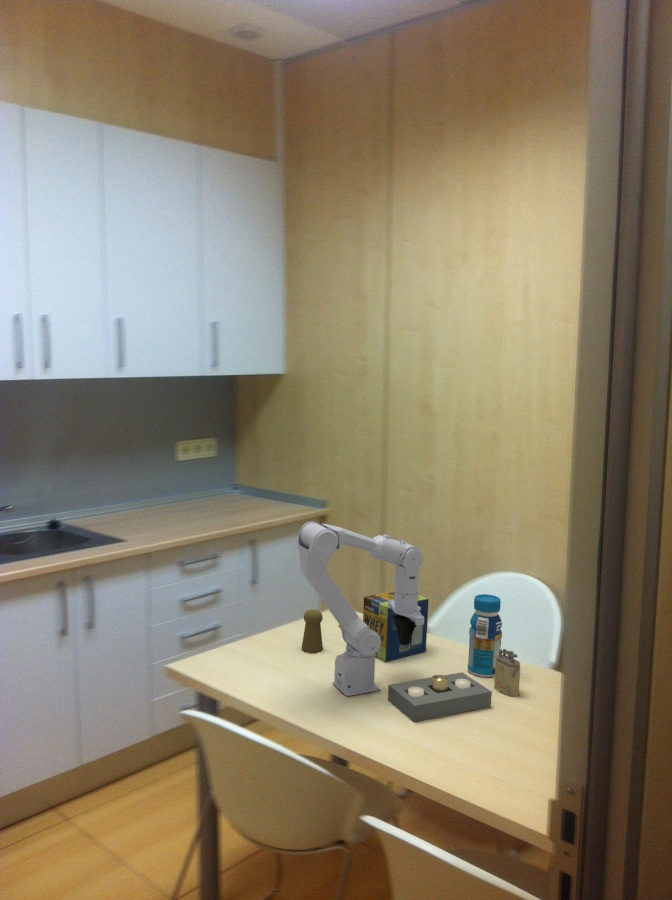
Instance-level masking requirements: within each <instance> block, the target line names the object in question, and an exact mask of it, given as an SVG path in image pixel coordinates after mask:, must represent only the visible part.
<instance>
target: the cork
mask: <svg viewBox="0 0 672 900" xmlns="http://www.w3.org/2000/svg"><path fill="white" fill-rule="evenodd" d="M303 620H304V623H305V625H304V630H303V637H302V642H301V643H302V644H301V649H302V650H301V651H302V652H303V651H304V653H306V652H308V653H307V654H319V653H318V652H320V653H322V652H323V651H324V646H323V638H322V637H323V636H322V635H323V634H322V627H321V622H322V621H323V614H322V612H321V611H320V610H317V609H309V610H308V609H307V610H306V611H305V612H304V614H303ZM322 650H323V651H322ZM321 651H322V652H321Z"/></svg>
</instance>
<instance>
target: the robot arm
mask: <svg viewBox="0 0 672 900" xmlns="http://www.w3.org/2000/svg"><path fill="white" fill-rule="evenodd" d="M295 542H296V544H297V548H298V552H299V553H298V554H299V560H300V561H299V562H300V571H301V573H302V575H303V576H304V578H305V579H306V580H307V581H308V583H309V584H310V585H311V587H312V588H313V590H314V591H315V593H316V594H317V596H318V597H319V598H320V600H321V602H322V603H324V605H325V607H326V608H327V609H328V610H329V612H330V613H331V614H332V616H333V618H334V619H335V620H336V622H337V624H338V627H339V629H340V631H341V636H342V639H343V641H344V642H345V651H344V652H343V653H340V654H338V655H336V656H335V660H334V681H333V682H332V685H334V686H335V687H336V688H337V689H338V690H339V691H340V692H341V693H342V694H343V695H345V696H347V697H348V696H349V697H350V696H355V695H362V694H369V693H373V692H379V691H381V689H382V688H381V687H380V686H379V685H377V684H376V683H375V673H376V672H375V670H376V667H375V666H376V657H375V656H376V653H377V652H378V650H379V648H380V646H381V638H380V636H379V635H378V634H377V633H376V632H374V631H372V630H371V629H370V628H369V627H368V626H367V625H366V624H365V623H364V622H363V618H361V617H360V616H359V615H358V614H357V613H358V612H356V611H355V609H354V607H353V606H352V605H351V604H350V602H349V600H348V599H347V598H346V597H345V595H344V594H343V592H342V591H341V589H340V588H339V586H338V585H337V584H336V582H335V581H334V579H333V578H332V576H331V575H330V574H329V573H328V571H327V570H326V567H327V565H328V563H329V561H330V560H331V558H332V557H333V554H334V553H335V552H336V550H341V549H342V548H344V546H347V547H352V548H356V549H359V550H363V551H368V552H369V554H370V557H372V558H373V559H374V560H375V559H376V560H380V561H383V562H385V563H389V564H392V565H395V566H394V567H395V572H394V574H395V575H394V576H395V577H394V591H395V600H390V601H388V608H390V609H393V611H394V612H395V613H396V614H397V615H393V616H392V619H393V621H394V623H395V625H396V628H397V632H398V636H399V641H400V644H402V645H408V644H410V641H411V637H412V634H413V631H414V629H415V627H416V625H417V626H418V625H424V617H423V616H422V615H421V613H420V610H421V607H419V606H417V600H418V595H419V594H418V591H419V574H420V568H421V566H422V564H423V562H424V560H425V557H424V556H423V555H422V551H421V550H420V549H419V548H418V547H417V546H414V545H412V544H409V543H408V542H406V541H404V540H402V539H400V540H395V539H393V538H391V536H390V535H388V534H385V533H383V534H382V535H379V534H378V535H376V536H374V537H368V536H367V535H364V534H361V533H357V532H354V531H351V530H349V529H346V528H343V527H340V526H336V525H332V524H327V523H321V524H320V523H318V522H316V521H307V522H305V523H304V524H303V525H302V526H301V527H300V529H299V531H298V535H297V538H296V541H295Z"/></svg>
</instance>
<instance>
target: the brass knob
mask: <svg viewBox="0 0 672 900" xmlns="http://www.w3.org/2000/svg"><path fill="white" fill-rule="evenodd" d="M444 675H445V674H444ZM444 675H443V674H435V675H433V676H432V677H433V680H432V690H433V691H435V692H436V693H441V692H447V689H448V677H446V676H444Z"/></svg>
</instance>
